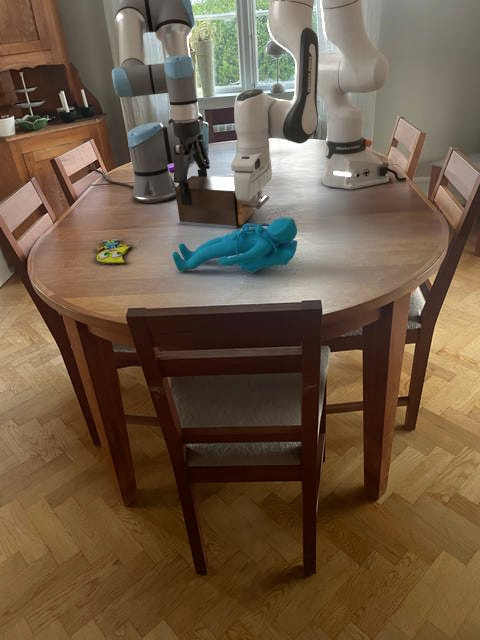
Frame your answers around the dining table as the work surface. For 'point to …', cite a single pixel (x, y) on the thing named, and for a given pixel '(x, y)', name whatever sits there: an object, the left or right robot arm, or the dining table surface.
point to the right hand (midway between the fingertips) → (256, 205)
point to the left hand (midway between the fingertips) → (195, 197)
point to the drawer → (247, 208)
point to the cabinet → (209, 202)
